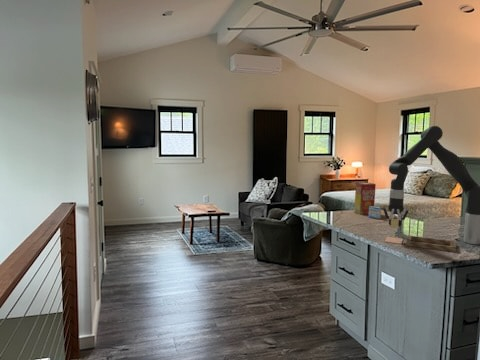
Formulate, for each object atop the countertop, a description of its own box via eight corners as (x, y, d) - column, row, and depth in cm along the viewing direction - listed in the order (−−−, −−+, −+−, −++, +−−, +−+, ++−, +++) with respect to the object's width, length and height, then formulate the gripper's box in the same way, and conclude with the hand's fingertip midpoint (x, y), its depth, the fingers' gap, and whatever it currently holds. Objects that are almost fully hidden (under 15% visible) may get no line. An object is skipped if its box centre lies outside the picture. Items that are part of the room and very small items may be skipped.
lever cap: (398, 226, 213) (399, 216, 213) (398, 228, 207) (398, 218, 207) (391, 225, 215) (392, 215, 215) (390, 228, 209) (391, 217, 208)
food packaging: (360, 214, 290) (361, 184, 287) (353, 212, 299) (355, 182, 296) (374, 214, 293) (376, 183, 291) (367, 212, 302) (369, 182, 300)
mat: (402, 239, 215) (402, 238, 215) (401, 244, 205) (401, 243, 205) (386, 237, 219) (386, 236, 219) (384, 242, 209) (384, 241, 209)
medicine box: (368, 217, 279) (368, 206, 278) (370, 216, 282) (371, 205, 282) (378, 219, 274) (379, 207, 273) (380, 218, 277) (381, 207, 276)
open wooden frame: (454, 245, 204) (454, 240, 204) (455, 252, 191) (456, 247, 191) (407, 239, 216) (407, 235, 215) (406, 245, 202) (406, 241, 202)
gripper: (410, 197, 210) (408, 226, 211) (384, 195, 216) (382, 223, 218) (409, 198, 203) (407, 228, 205) (382, 196, 209) (381, 225, 211)
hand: (394, 225), depth 211 cm, fingers closed on lever cap, 4 cm apart
